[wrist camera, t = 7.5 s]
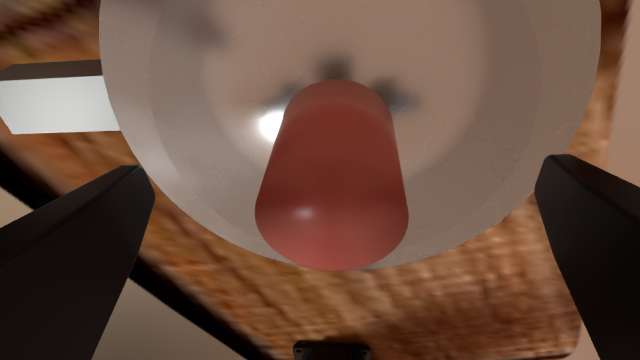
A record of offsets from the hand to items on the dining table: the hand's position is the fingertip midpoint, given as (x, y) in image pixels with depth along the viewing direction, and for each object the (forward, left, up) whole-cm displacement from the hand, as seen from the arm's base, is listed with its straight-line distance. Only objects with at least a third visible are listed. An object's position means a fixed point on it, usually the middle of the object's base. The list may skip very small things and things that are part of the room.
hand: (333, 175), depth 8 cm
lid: (0, 0, -4) cm, 4 cm away
